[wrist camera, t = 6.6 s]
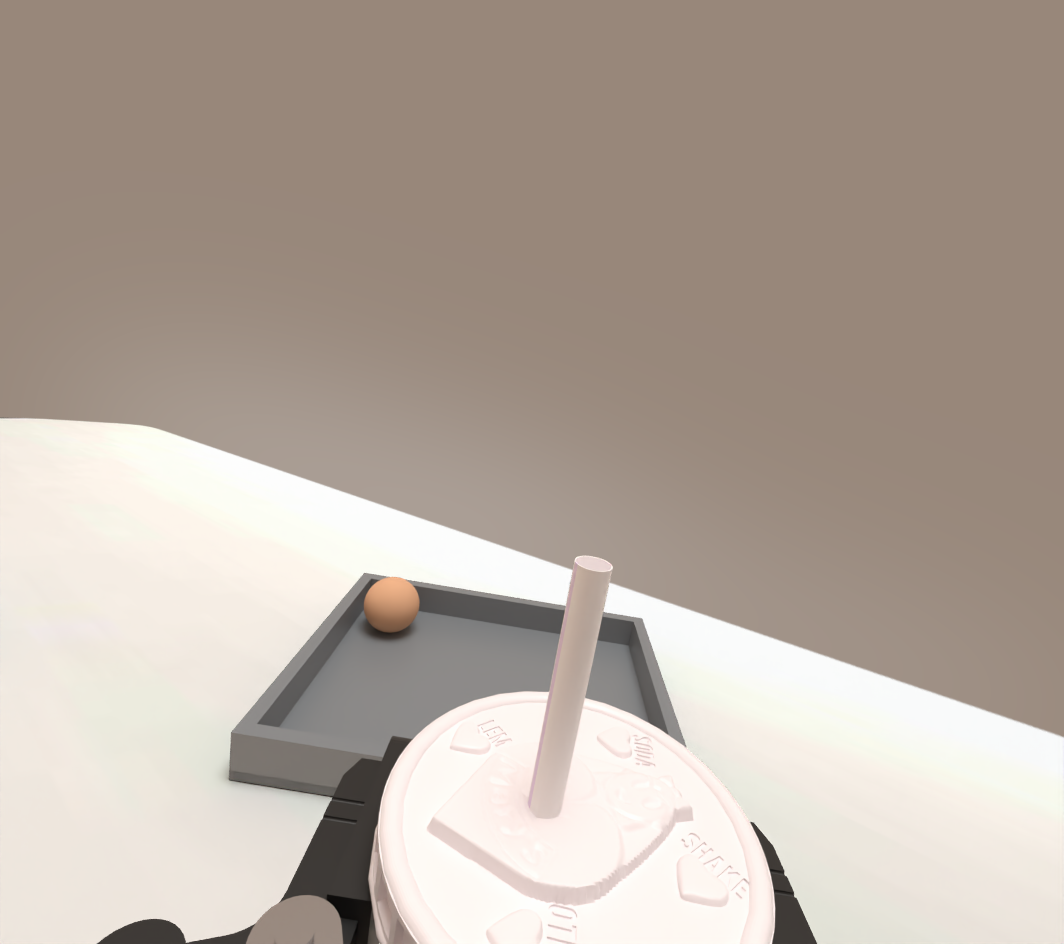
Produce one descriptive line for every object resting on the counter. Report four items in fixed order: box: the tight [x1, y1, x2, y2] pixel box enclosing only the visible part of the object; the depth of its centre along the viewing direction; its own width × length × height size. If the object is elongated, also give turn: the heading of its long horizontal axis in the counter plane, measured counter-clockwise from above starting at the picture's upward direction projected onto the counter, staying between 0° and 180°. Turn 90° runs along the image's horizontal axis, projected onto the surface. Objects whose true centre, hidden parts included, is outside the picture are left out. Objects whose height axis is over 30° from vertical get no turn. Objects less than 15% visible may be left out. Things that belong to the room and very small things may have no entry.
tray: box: [229, 573, 686, 796], centre depth 26 cm, size 17×14×2 cm
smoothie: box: [368, 556, 775, 944], centre depth 10 cm, size 6×6×14 cm
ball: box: [364, 577, 419, 633], centre depth 30 cm, size 3×3×3 cm
